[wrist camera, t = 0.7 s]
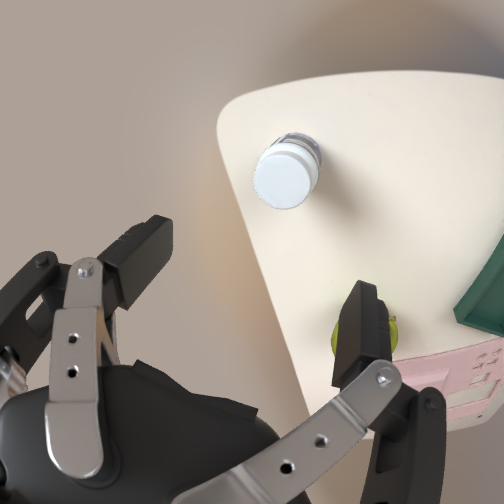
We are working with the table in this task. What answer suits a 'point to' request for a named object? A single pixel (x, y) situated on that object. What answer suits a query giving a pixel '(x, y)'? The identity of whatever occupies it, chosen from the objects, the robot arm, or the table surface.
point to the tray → (485, 297)
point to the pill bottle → (287, 171)
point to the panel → (456, 374)
